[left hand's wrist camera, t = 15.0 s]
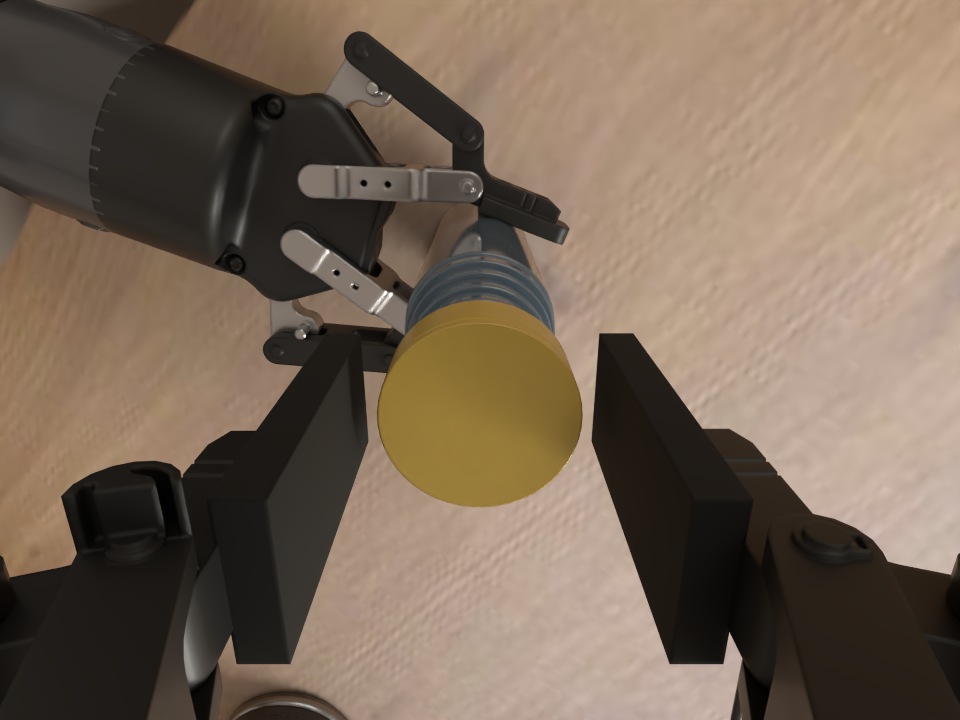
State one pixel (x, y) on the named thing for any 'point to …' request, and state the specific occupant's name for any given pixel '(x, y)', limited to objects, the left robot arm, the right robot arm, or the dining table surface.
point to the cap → (479, 405)
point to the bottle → (478, 268)
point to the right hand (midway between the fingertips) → (538, 290)
